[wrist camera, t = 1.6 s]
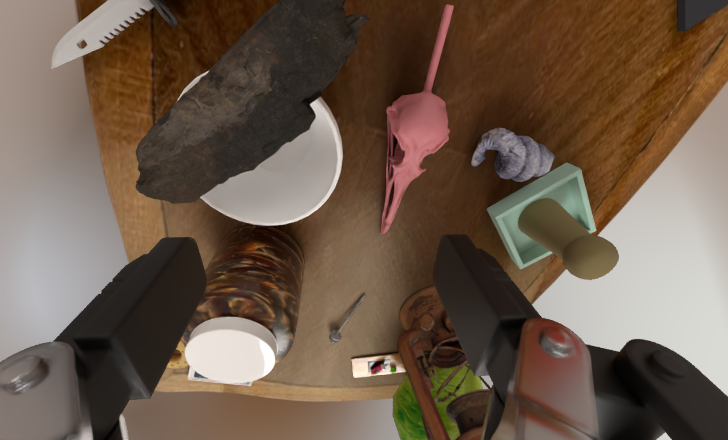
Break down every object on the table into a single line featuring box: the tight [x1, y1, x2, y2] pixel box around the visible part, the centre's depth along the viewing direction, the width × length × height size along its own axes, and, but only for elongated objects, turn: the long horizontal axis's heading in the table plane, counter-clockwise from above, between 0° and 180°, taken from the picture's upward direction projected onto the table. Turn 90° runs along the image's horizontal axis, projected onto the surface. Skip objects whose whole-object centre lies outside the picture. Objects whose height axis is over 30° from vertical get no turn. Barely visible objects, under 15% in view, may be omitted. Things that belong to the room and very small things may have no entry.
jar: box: [181, 225, 304, 383], centre depth 33 cm, size 12×12×15 cm
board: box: [352, 353, 406, 378], centre depth 55 cm, size 6×12×2 cm, turn 93°
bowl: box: [177, 71, 343, 226], centre depth 28 cm, size 14×14×8 cm
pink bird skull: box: [380, 5, 454, 234], centre depth 31 cm, size 25×7×7 cm, turn 3°
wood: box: [136, 0, 369, 204], centre depth 22 cm, size 22×7×3 cm, turn 127°
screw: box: [329, 295, 366, 343], centre depth 47 cm, size 2×11×2 cm, turn 151°
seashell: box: [471, 128, 555, 182], centre depth 33 cm, size 5×5×10 cm
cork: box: [518, 198, 619, 280], centre depth 36 cm, size 6×6×11 cm
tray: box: [487, 162, 596, 269], centre depth 40 cm, size 11×11×2 cm
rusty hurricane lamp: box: [397, 286, 491, 440], centre depth 36 cm, size 17×13×30 cm
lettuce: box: [393, 357, 483, 440], centre depth 51 cm, size 17×20×17 cm
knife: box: [51, 0, 178, 69], centre depth 24 cm, size 19×2×5 cm
